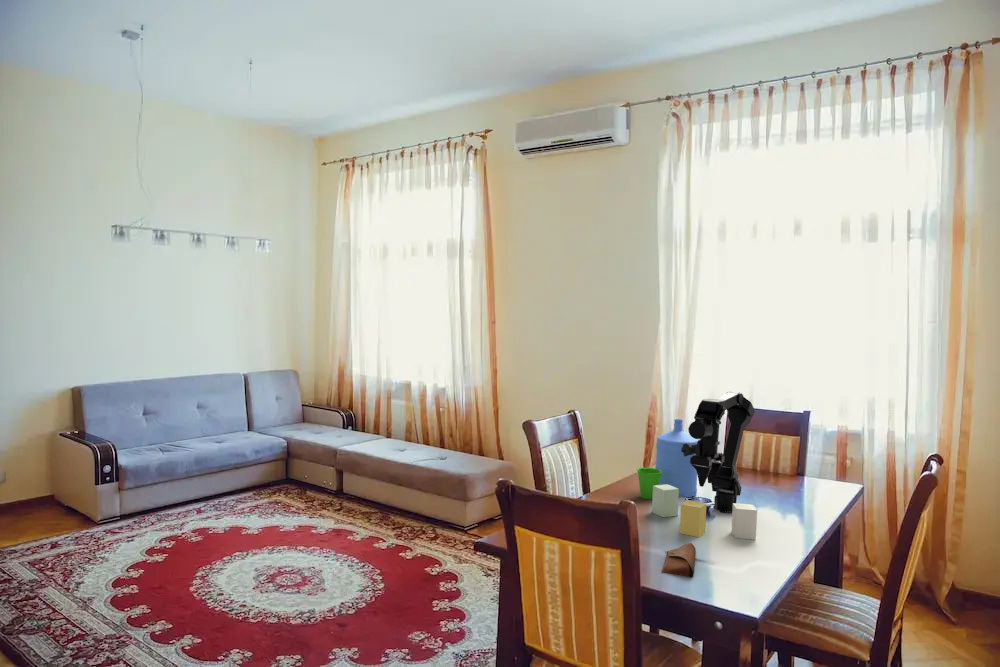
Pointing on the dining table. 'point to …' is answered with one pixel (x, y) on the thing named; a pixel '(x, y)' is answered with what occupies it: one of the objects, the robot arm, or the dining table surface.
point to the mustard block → (693, 518)
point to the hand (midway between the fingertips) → (705, 484)
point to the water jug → (676, 461)
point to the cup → (648, 481)
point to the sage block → (665, 500)
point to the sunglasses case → (680, 561)
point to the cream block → (744, 521)
